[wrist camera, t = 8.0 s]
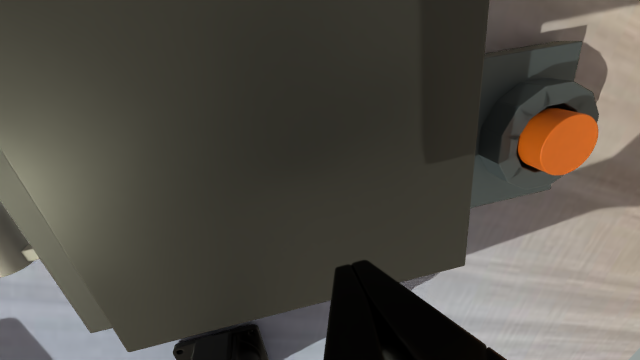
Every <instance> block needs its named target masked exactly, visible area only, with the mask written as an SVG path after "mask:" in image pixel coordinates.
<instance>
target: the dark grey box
mask: <svg viewBox="0 0 640 360" xmlns="http://www.w3.org/2000/svg"><path fill="white" fill-rule="evenodd" d="M488 9H489V0H0V150H1V151H2V153H3V154H4V156H5V158H6V159H7V161H8V162H9V164H10V165H11V167H12V169H13V170H14V172H15V173H16V175H17V177H18V178H19V180H20V181H21V183H22V185H23V186H24V188H25V189H26V191H27V192H28V194H29V196H30V197H31V199H32V200H33V202H34V204H35V205H36V207H37V208H38V210H39V212H40V213H41V215H42V216H43V218H44V219H45V221H46V223H47V224H48V226H49V227H50V229H51V231H52V232H53V234H54V235H55V237H56V239H57V240H58V242H59V243H60V245H61V246H62V248H63V250H64V251H65V253H66V254H67V256H68V258H69V259H70V261H71V262H72V264H73V266H74V267H75V269H76V270H77V272H78V273H79V275H80V277H81V278H82V280H83V281H84V283H85V285H86V286H87V288H88V289H89V291H90V293H91V294H92V296H93V297H94V299H95V301H96V302H97V304H98V305H99V307H100V308H101V310H102V312H103V313H104V315H105V316H106V318H107V320H108V321H109V323H110V324H111V326H112V328H113V329H114V331H115V332H116V334H117V335H118V337H119V339H120V340H121V342H122V343H123V345H124V347H125V348H126V350H127V351H128V352H132V351H136V350H140V349H144V348H147V347H151V346H155V345H159V344H163V343H167V342H171V341H175V340H178V339H182V338H186V337H190V336H194V335H198V334H202V333H206V332H209V331H213V330H217V329H221V328H225V327H229V326H233V325H237V324H240V323H244V322H248V321H252V320H256V319H260V318H264V317H268V316H271V315H275V314H279V313H283V312H287V311H291V310H295V309H298V308H302V307H306V306H310V305H314V304H318V303H322V302H326V301H329V300H331V297H332V289H333V281H334V273H335V268H336V267H339V266H342V265H346V264H350V265H351V264H352V263H353V262H357V261H361V260H368V261H369V262H371V263H372V264H374V265H375V266H376V267H378V268H379V269H381V270H382V271H383V272H385V273H386V274H388V275H389V276H390V277H392V278H393V279H395V280H396V281H397V282H403V281H407V280H411V279H415V278H419V277H422V276H426V275H430V274H434V273H438V272H442V271H446V270H449V269H453V268H457V267H461V266H464V265H465V258H466V247H467V236H468V225H469V214H470V204H471V193H472V182H473V171H474V160H475V150H476V139H477V128H478V117H479V106H480V95H481V85H482V74H483V63H484V52H485V41H486V31H487V20H488Z"/></svg>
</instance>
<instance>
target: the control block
mask: <svg viewBox="0 0 640 360" xmlns="http://www.w3.org/2000/svg"><path fill="white" fill-rule="evenodd" d="M581 46H582V41H557V42H551V43H545V44H539V45H533V46H527V47H521V48H516V49H510V50H504V51H498V52H492V53H486V54H484V63H483V74H482V85H481V95H480V106H479V117H478V128H477V139H476V150H475V160H474V171H473V182H472V193H471V204H470V208H472V207H477V206H481V205H485V204H489V203H494V202H498V201H502V200H506V199H511V198H515V197H519V196H523V195H528V194H532V193H536V192H541V191H545V190H549V189H550V188H551V183H553V182H554V181H556V180H557V179H559V178H560V177H561V176H563V175H550V174H548V173H546V172H543V171H541V170H539V169H536V168H534V167H532V166H530V165H527V164H525V163H524V162H523V161H522V160H521V159H520V157H519V156H518V152H517V146H518V140H519V136H520V135H521V133H522V132H523V130H524V128H525V127H526V125H527V124H528V122H529V120H530V119H531V118H533V117H534V116H535V115H536V114H538V113H539V112H541V111H543V110H546V109H549V108H559V109H564V110H569V111H573V112H578V113H583V114H587V115H589V116H591V117H592V118H593V119H594V120H595V121H596V123H597V121H598V117H599V116H598V115H599V113H598V110H597V106H596V102H595V98H594V95H593V93H592V92H591V91H590V90H588V89H586V88H584V87H583V86H581V85H579V84H578V83H576V82H574V78H575V74H576V69H577V65H578V60H579V56H580V51H581Z"/></svg>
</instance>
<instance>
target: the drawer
mask: <svg viewBox="0 0 640 360" xmlns="http://www.w3.org/2000/svg"><path fill="white" fill-rule="evenodd" d="M0 201H1V202H0V277H4V276H8V275H10V274H13V273H15V272H17V271H20V270H21V269H23V268H25V267H27V266H28V265H29V264H31V263H32V262H33V261H34V260H38V259H40V260H41V261H42V263H43V264H44V266H45V267H46V268H47V270H48V271H49V273H50V274H51V276H52V277H53V279H54V280H55V282H56V283H57V285H58V286H59V288H60V289H61V290H62V292H63V293H64V295H65V296H66V298H67V299H68V301H69V302H70V304H71V305H72V307H73V308H74V309H75V311H76V312H77V314H78V315H79V317H80V318H81V320H82V321H83V323H84V324H85V326H86V327H87V329H88V330H89V331H90V333H94V332H98V331H102V330H106V329H110V328H112V326H111V324H110V323H109V321H108V320H107V318H106V316H105V315H104V313H103V312H102V310H101V308H100V307H99V305H98V304H97V302H96V301H95V299H94V297H93V296H92V294H91V293H90V291H89V289H88V288H87V286H86V285H85V283H84V281H83V280H82V278H81V277H80V275H79V273H78V272H77V270H76V269H75V267H74V266H73V264H72V262H71V261H70V259H69V258H68V256H67V254H66V253H65V251H64V250H63V248H62V246H61V245H60V243H59V242H58V240H57V239H56V237H55V235H54V234H53V232H52V231H51V229H50V227H49V226H48V224H47V223H46V221H45V219H44V218H43V216H42V215H41V213H40V212H39V210H38V208H37V207H36V205H35V204H34V202H33V200H32V199H31V197H30V196H29V194H28V192H27V191H26V189H25V188H24V186H23V185H22V183H21V181H20V180H19V178H18V177H17V175H16V173H15V172H14V170H13V169H12V167H11V165H10V164H9V162H8V161H7V159H6V158H5V156H4V154H3V153H2V151H1V150H0ZM5 208H6V209H5ZM7 211H8V212H7ZM9 214H10V215H9ZM11 217H12V218H11ZM13 220H14V221H13ZM15 223H16V224H15ZM18 227H19V228H18ZM20 230H21V231H20ZM22 233H23V234H22ZM24 236H25V237H24ZM26 239H27V240H26ZM28 242H29V243H28Z"/></svg>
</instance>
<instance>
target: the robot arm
mask: <svg viewBox="0 0 640 360" xmlns="http://www.w3.org/2000/svg"><path fill="white" fill-rule="evenodd" d="M173 354H174V356H175V358H176V360H269V359H268V355H267V352H266V349H265V346H264V343H263V340H262V337H261V334H260V331H259V328H258V326H257V325H255V324H251V325H247V326H243V327H239V328H235V329H231V330H228V331H224V332H220V333H216V334H212V335H208V336H204V337H201V338H197V339H193V340H189V341H185V342H181V343H178V344H176V345H175V347H174V350H173ZM324 360H507V359H505V358H504V357H502V356H501V355H500V354H498V353H497V352H495V351H494V350H493V349H491V348H490V347H488V348H486V345H485V344H484V343H483V342H481V341H480V340H478V339H477V338H476V337H474V336H473V335H471V334H470V333H469V332H467V331H466V330H464V329H463V328H462V327H460V326H459V325H457V324H456V323H455V322H453V321H452V320H450V319H449V318H448V317H446V316H445V315H443V314H442V313H441V312H439V311H438V310H436V309H435V308H434V307H432V306H431V305H429V304H428V303H427V302H425V301H424V300H422V299H421V298H420V297H418V296H417V295H416V294H414V293H413V292H411V291H410V290H409V289H407V288H406V287H404V286H403V285H402V284H400V283H399V282H397V281H396V280H395V279H393V278H392V277H390V276H389V275H388V274H386V273H385V272H383V271H382V270H381V269H379V268H378V267H376V266H375V265H374V264H372V263H371V262H369V261H368V260H361V261H357V262H353V263H352V264H351V265H350V264H346V265H342V266H339V267H336V268H335V273H334V281H333V289H332V297H331V305H330V312H329V320H328V328H327V336H326V344H325V352H324Z"/></svg>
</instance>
